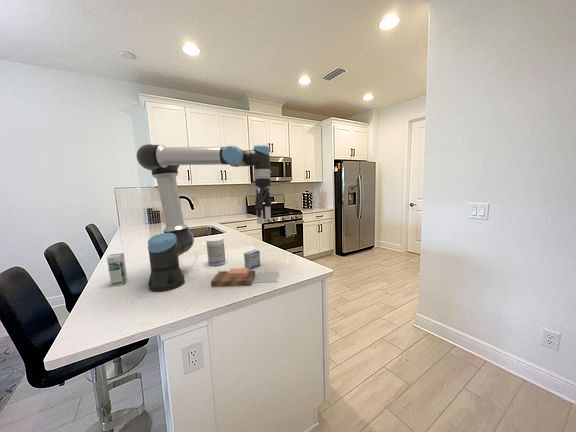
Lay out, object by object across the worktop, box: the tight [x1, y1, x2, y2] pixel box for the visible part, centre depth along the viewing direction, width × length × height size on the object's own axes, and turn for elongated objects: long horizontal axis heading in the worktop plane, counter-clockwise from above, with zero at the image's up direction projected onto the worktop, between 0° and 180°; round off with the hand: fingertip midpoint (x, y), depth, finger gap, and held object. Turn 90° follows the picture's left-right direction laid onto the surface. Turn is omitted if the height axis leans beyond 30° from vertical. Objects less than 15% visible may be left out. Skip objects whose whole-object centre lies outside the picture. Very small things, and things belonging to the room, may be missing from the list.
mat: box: [252, 271, 279, 284], centre depth 114 cm, size 11×12×1 cm
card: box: [227, 267, 250, 278], centre depth 112 cm, size 9×6×2 cm, turn 89°
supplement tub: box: [206, 236, 226, 267], centre depth 135 cm, size 10×10×15 cm
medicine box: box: [243, 249, 261, 271], centre depth 129 cm, size 8×4×9 cm, turn 143°
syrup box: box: [106, 252, 128, 287], centre depth 112 cm, size 6×6×14 cm
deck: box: [210, 269, 256, 288], centre depth 111 cm, size 18×12×2 cm, turn 89°
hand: (264, 221), depth 117 cm, fingers open, 13 cm apart
